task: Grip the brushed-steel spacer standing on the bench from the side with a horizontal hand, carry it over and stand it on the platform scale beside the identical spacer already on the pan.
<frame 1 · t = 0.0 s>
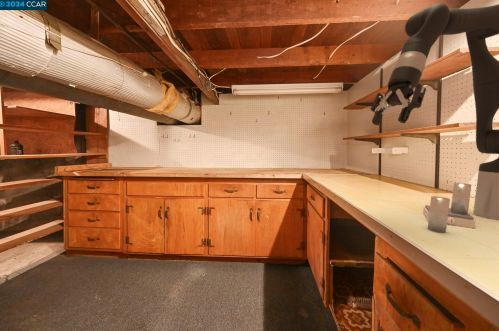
hand: (387, 123, 68), 31 cm above the countertop, fingers open, 8 cm apart
scale: (446, 220, 83), on the countertop
spacer 1: (458, 212, 80), point 3 cm above the countertop, touching scale
spacer 2: (436, 230, 72), on the countertop
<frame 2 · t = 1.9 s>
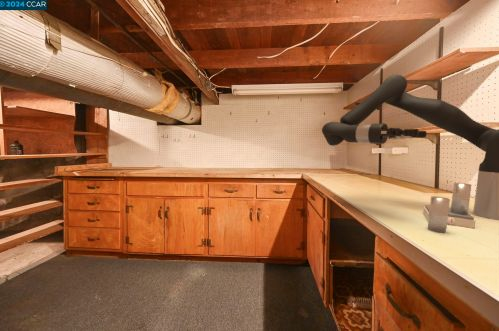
hand: (422, 133, 78), 30 cm above the countertop, fingers open, 8 cm apart
nothing on the countertop moved.
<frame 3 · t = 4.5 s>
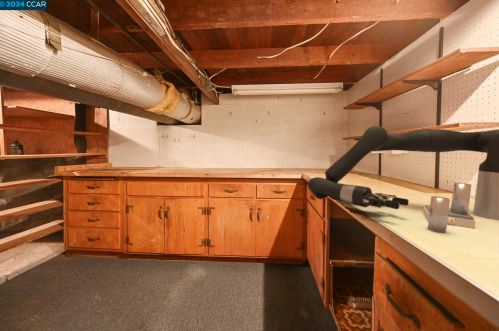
hand: (403, 204, 78), 6 cm above the countertop, fingers open, 8 cm apart
nothing on the countertop moved.
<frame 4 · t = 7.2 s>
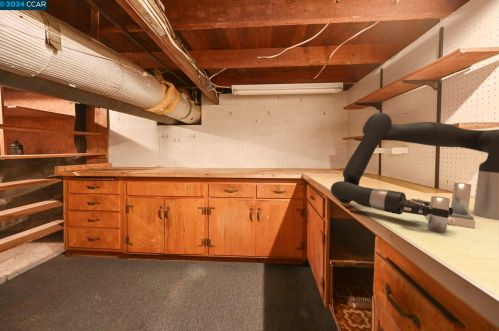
hand: (450, 212, 69), 6 cm above the countertop, fingers closed on spacer 2, 4 cm apart
spacer 2: (436, 230, 72), on the countertop, touching gripper
everything else where it was.
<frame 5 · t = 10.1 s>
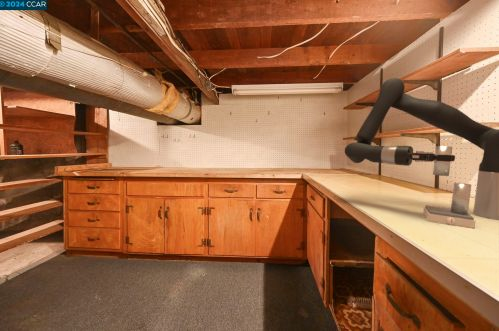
hand: (452, 158, 80), 22 cm above the countertop, fingers closed on spacer 2, 4 cm apart
spacer 2: (440, 175, 83), point 16 cm above the countertop, touching gripper
everything else where it was.
when the fingers open (11 cm above the countertop, at t = 13.4 s): spacer 2 drops 1 cm, resting on scale.
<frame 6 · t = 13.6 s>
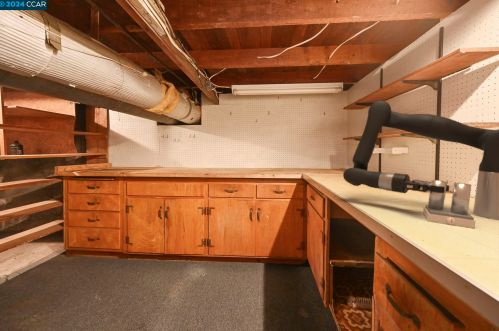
hand: (446, 189, 83), 11 cm above the countertop, fingers open, 6 cm apart
spacer 2: (435, 208, 85), point 3 cm above the countertop, touching scale
everything else where it was.
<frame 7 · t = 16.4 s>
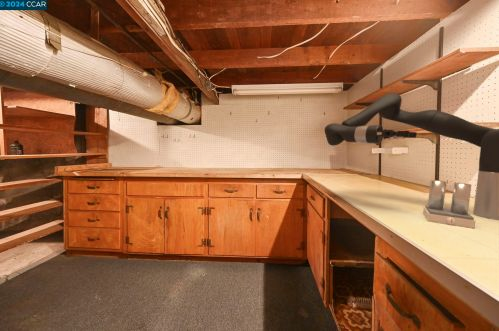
hand: (412, 134, 89), 30 cm above the countertop, fingers open, 8 cm apart
nothing on the countertop moved.
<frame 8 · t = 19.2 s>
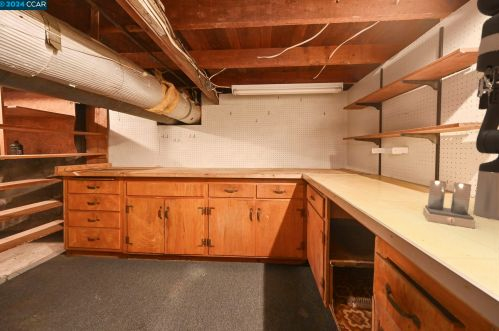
hand: (487, 107, 73), 38 cm above the countertop, fingers open, 8 cm apart
nothing on the countertop moved.
at the end: spacer 2 inside the target area on the scale (3.4 cm from its centre), point 3.3 cm above the scale's base; spacer 2 tilted 0°; spacer 1 inside the target area on the scale (3.1 cm from its centre), point 3.3 cm above the scale's base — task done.
